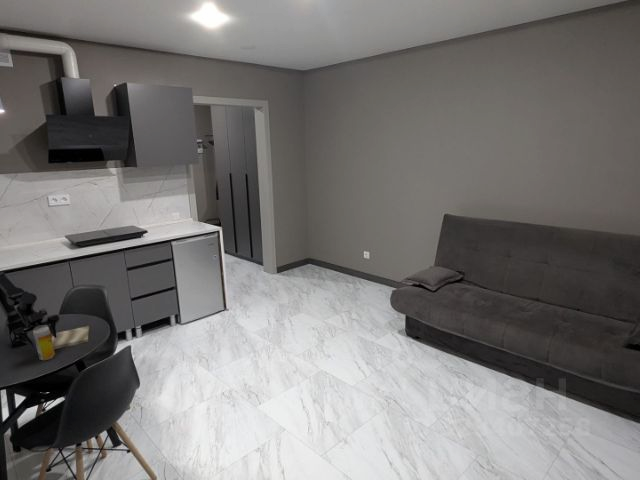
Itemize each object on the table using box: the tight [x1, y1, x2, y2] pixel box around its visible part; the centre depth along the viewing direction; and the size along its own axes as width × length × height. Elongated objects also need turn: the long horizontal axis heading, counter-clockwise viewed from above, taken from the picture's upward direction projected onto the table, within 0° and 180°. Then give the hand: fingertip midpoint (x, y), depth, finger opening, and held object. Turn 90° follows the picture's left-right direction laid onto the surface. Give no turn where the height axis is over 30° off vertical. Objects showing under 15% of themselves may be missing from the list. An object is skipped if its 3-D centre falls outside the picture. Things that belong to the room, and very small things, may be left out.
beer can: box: [32, 325, 56, 361], centre depth 183 cm, size 6×6×15 cm
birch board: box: [51, 325, 90, 350], centre depth 201 cm, size 16×16×2 cm
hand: (45, 342), depth 182 cm, fingers open, 9 cm apart
